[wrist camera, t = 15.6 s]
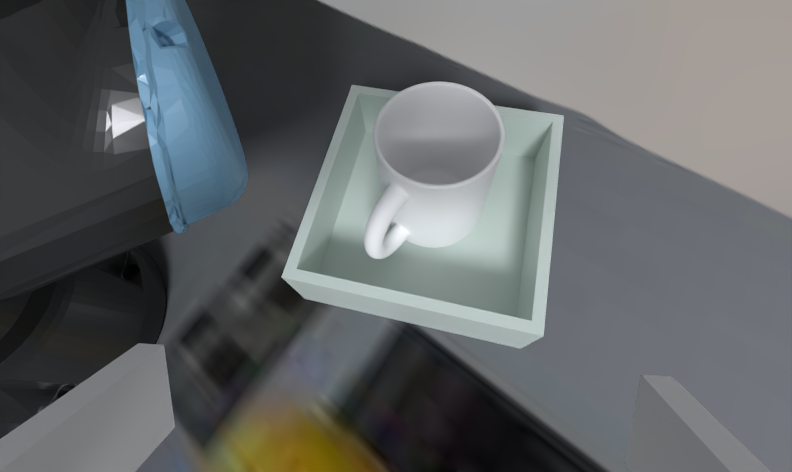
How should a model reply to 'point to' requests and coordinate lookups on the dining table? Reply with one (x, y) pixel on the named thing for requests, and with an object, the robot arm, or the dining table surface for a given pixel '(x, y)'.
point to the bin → (446, 266)
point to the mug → (432, 166)
